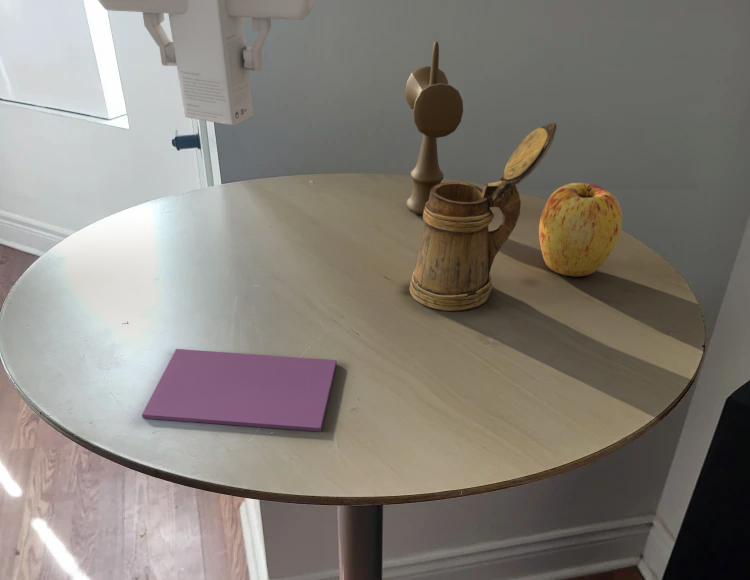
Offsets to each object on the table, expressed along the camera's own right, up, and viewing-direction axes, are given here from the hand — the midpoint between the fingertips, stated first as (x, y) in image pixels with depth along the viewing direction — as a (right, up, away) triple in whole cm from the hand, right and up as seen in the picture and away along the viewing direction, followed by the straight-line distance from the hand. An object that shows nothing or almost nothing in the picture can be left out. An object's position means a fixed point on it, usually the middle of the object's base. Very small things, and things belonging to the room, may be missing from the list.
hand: (213, 66), depth 76 cm
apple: (+39, -16, +16) cm, 45 cm away
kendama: (+23, -4, +28) cm, 36 cm away
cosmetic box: (0, -4, +3) cm, 5 cm away
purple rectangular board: (+4, -32, -4) cm, 33 cm away
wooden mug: (+27, -19, +11) cm, 35 cm away
